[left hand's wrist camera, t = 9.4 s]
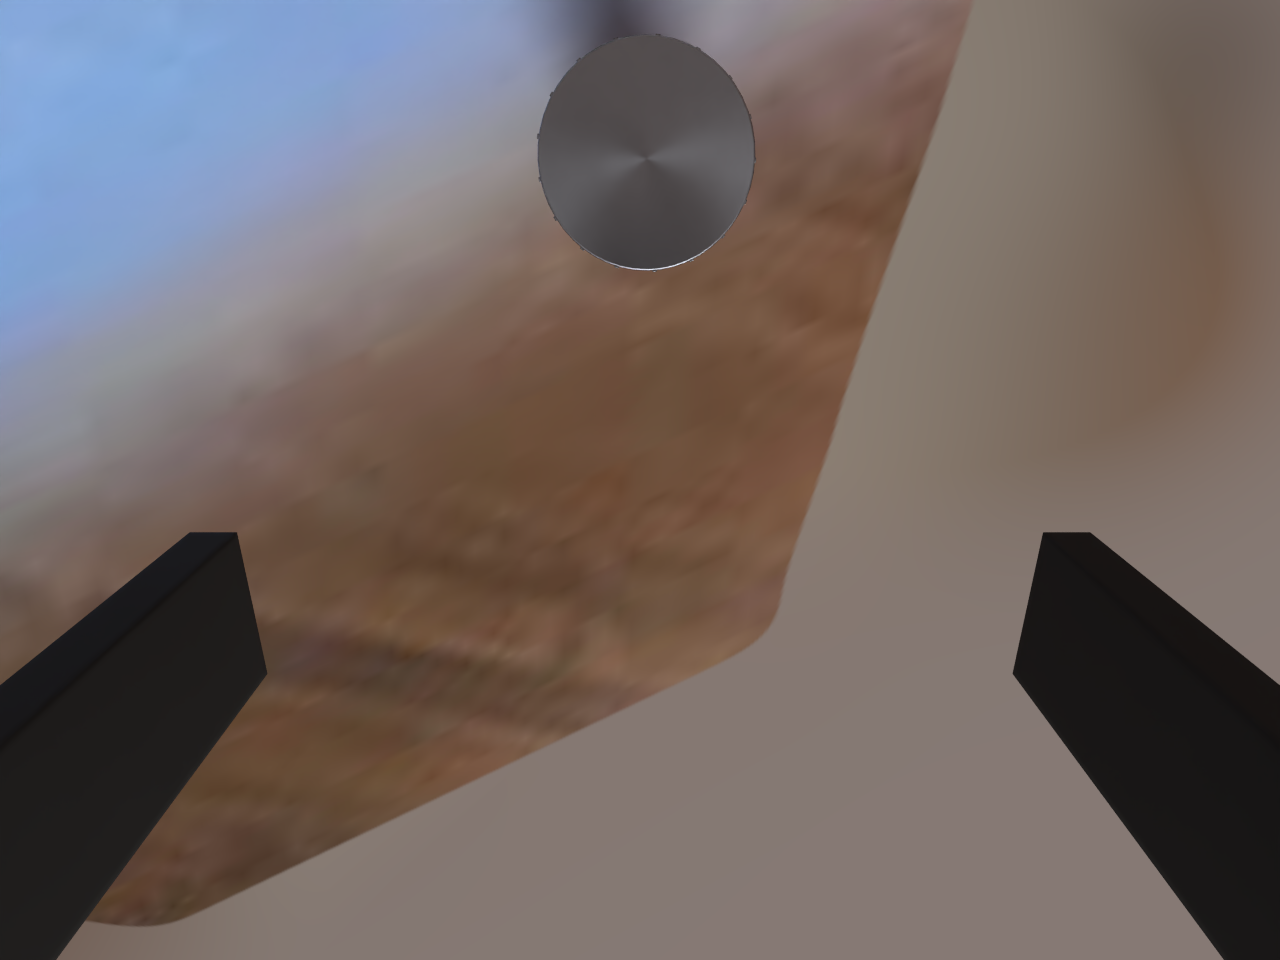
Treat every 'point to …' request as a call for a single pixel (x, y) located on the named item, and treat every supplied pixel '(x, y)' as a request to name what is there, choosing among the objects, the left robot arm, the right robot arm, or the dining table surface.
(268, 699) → the dining table surface
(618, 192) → the lid
